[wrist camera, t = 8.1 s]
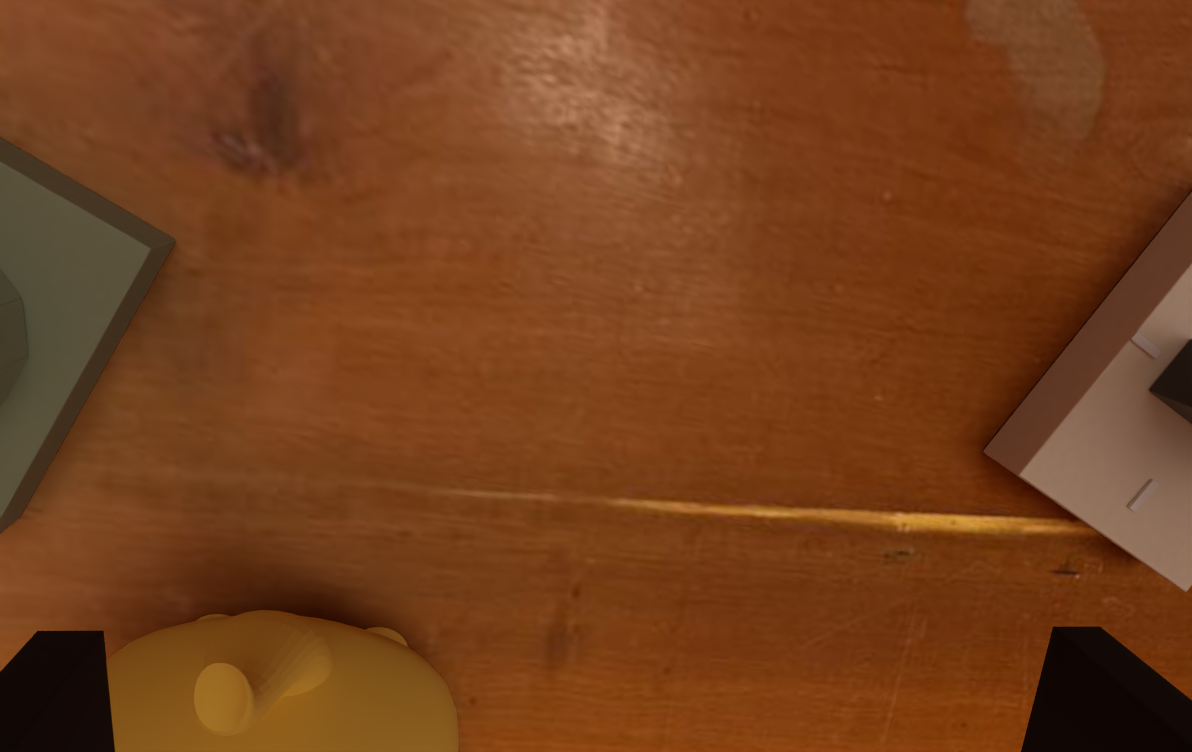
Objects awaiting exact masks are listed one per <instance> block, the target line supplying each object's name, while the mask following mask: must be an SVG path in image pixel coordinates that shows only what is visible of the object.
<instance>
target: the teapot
mask: <svg viewBox="0 0 1192 752" xmlns="http://www.w3.org/2000/svg"><path fill="white" fill-rule="evenodd" d="M106 663H107V673H108V683H109V694H110V704H111V714H112V725H113V735H114V746H115V752H459V731H458V718H457V711H456V708H455V705H454V702H453V699H452V696H451V693H450V690H449V688H448V686H447V684H446V683H445V681H444V680H443V678H442V676H441V675H440V674H439V673H438V672H437V671H436V670H435V669H434V668H433V667H432V666H431V665H430V664H429V663H428V662H427V661H426V660H425V659H424V658H423V657H422V656H420V655H419V654H418V653H416V652H415V651H413V650H412V649H410V648H409V647H408V645H407V642H406V641H405V639H404V638H403V637H402V636H401V635H400V634H399V633H397V632H395V631H394V630H391V629H389V628H384V627H372V628H367V629H365V630H364V629H361V628H358V627H354V626H350V625H347V624H343V623H339V622H335V621H330V620H325V619H320V618H314V617H306V616H298V615H296V614H292V613H287V612H282V611H274V610H257V611H251V612H245V613H242V614H239V615H236V616H228V615H224V614H211V615H206V616H203V617H201V618H199V619H197V620H196V621H193V622H189V623H184V624H180V625H176V626H173V627H169V628H165V629H161V630H157V631H155V632H152V633H149V634H147V635H145V636H143V637H140V638H138V639H136V640H134V641H131V642H130V643H128V644H127V645H126V646H124V647H123V648H121V649H120V650H118V651H117V652H116V653H114V654H113V655H112V656H110V657H109V658H107V660H106Z"/></svg>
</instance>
